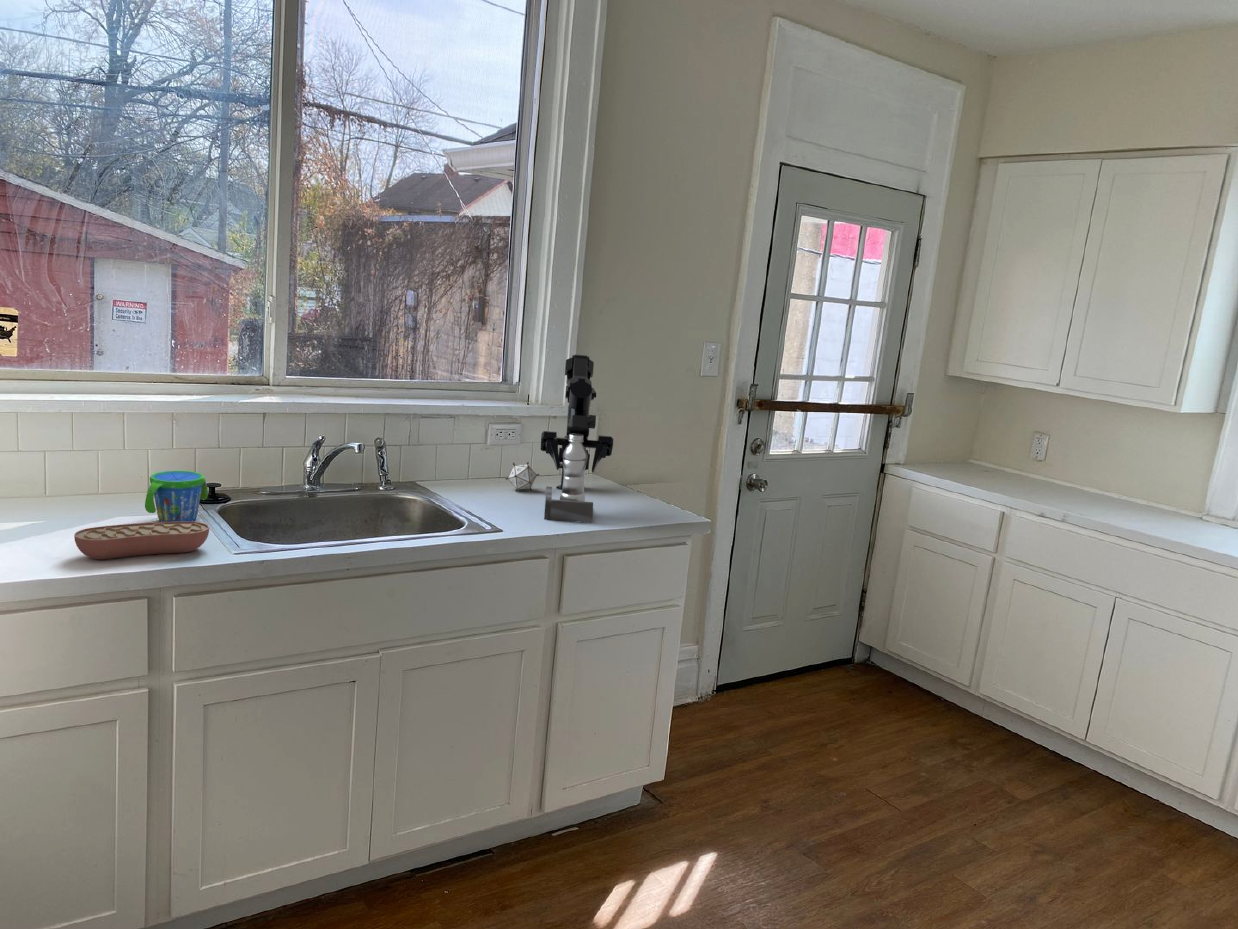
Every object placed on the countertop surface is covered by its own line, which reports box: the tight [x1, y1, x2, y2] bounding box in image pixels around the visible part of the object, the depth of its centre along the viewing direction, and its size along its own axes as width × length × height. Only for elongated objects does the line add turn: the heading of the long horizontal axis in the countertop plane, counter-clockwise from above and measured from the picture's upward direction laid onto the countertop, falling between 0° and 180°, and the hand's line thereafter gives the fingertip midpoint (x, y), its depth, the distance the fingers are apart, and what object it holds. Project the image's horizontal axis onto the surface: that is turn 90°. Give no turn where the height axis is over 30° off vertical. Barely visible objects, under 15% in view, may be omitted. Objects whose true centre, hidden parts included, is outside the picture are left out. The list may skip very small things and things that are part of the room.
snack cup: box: [144, 470, 209, 522], centre depth 195 cm, size 16×10×10 cm
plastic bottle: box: [559, 433, 588, 502], centre depth 231 cm, size 6×7×20 cm
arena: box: [543, 486, 594, 524], centre depth 233 cm, size 16×12×5 cm
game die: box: [504, 461, 540, 493], centre depth 254 cm, size 9×8×10 cm
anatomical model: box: [74, 521, 210, 561], centre depth 172 cm, size 23×10×5 cm, turn 126°
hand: (575, 470), depth 229 cm, fingers open, 9 cm apart
